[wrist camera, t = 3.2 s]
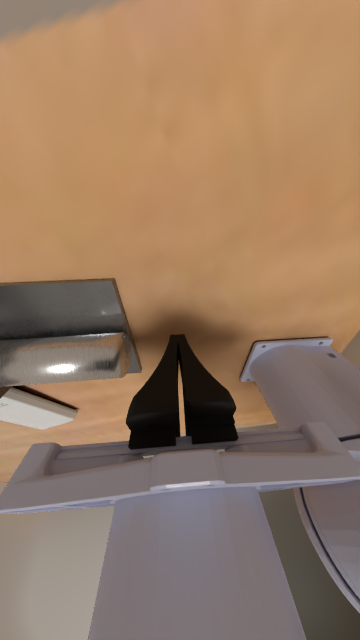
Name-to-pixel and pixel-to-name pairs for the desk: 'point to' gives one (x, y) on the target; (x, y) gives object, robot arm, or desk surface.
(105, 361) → the tube
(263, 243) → the desk surface
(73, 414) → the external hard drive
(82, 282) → the grey metal fixture
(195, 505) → the robot arm
